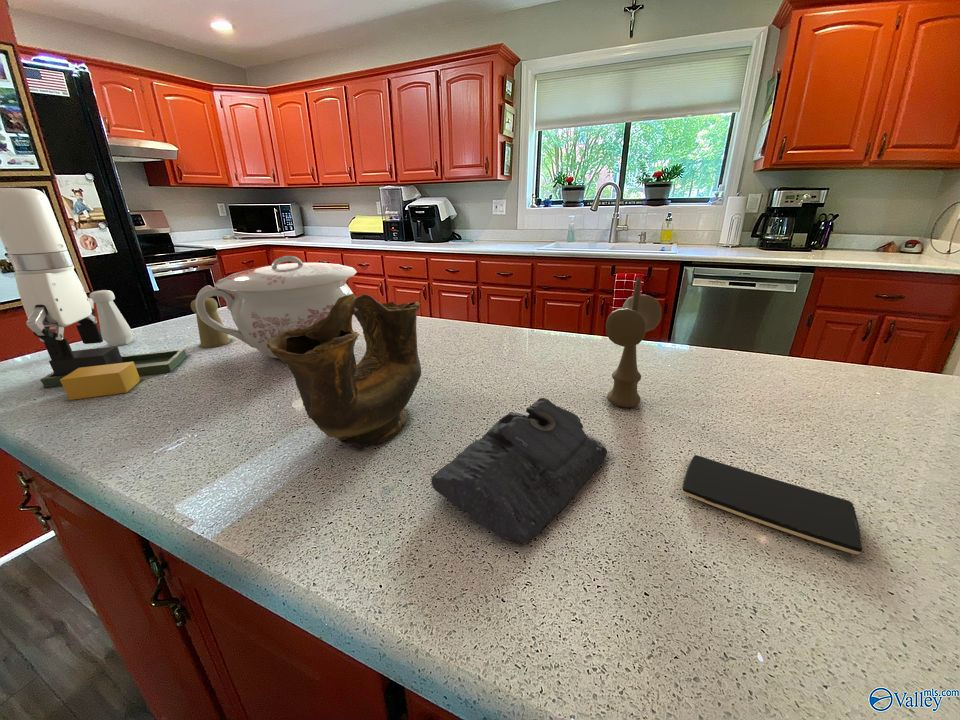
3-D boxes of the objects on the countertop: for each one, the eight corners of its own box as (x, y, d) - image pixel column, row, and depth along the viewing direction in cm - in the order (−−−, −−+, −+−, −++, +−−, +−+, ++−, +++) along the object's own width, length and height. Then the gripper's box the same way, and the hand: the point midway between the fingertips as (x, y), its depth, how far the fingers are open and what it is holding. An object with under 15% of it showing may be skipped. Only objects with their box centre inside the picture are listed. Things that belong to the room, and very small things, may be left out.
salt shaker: (113, 340, 99) (92, 289, 94) (140, 338, 101) (121, 287, 96) (100, 348, 94) (77, 294, 89) (129, 345, 96) (108, 292, 91)
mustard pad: (69, 400, 69) (59, 379, 68) (87, 387, 74) (78, 367, 73) (127, 392, 71) (118, 372, 70) (141, 380, 76) (133, 361, 75)
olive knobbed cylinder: (197, 348, 92) (182, 302, 88) (206, 340, 97) (192, 296, 93) (225, 345, 93) (212, 300, 89) (233, 337, 99) (221, 294, 95)
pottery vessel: (348, 490, 46) (316, 327, 38) (276, 471, 49) (234, 318, 42) (441, 394, 67) (433, 278, 60) (387, 386, 71) (372, 275, 63)
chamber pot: (383, 329, 101) (372, 246, 93) (336, 374, 76) (316, 266, 68) (280, 329, 104) (261, 248, 96) (203, 372, 79) (168, 267, 71)
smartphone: (692, 453, 48) (855, 501, 40) (691, 460, 49) (851, 510, 41) (680, 487, 43) (865, 551, 35) (678, 495, 43) (861, 561, 35)
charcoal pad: (57, 380, 76) (48, 361, 75) (75, 369, 81) (66, 351, 79) (110, 373, 78) (102, 355, 77) (124, 363, 83) (117, 346, 82)
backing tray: (44, 387, 74) (39, 379, 74) (73, 369, 82) (70, 361, 82) (170, 371, 80) (168, 364, 79) (187, 356, 88) (184, 349, 87)
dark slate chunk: (411, 491, 45) (407, 457, 44) (518, 413, 61) (518, 385, 59) (523, 560, 36) (524, 521, 35) (615, 448, 52) (618, 416, 50)
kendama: (650, 394, 65) (669, 273, 58) (634, 420, 58) (653, 285, 50) (613, 386, 69) (627, 270, 61) (594, 409, 61) (606, 281, 54)
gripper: (49, 257, 78) (82, 339, 84) (-24, 271, 63) (23, 370, 69) (95, 255, 80) (124, 335, 86) (35, 269, 65) (76, 365, 71)
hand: (79, 350), depth 78 cm, fingers open, 9 cm apart
